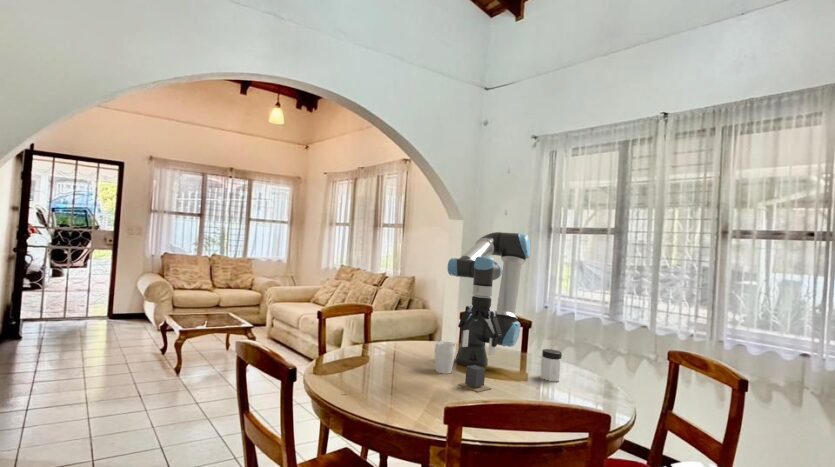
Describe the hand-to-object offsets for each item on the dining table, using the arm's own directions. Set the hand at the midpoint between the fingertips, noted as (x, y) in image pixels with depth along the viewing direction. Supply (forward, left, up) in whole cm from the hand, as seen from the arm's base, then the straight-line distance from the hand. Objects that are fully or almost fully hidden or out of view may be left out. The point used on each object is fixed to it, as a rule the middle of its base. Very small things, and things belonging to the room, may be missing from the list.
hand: (477, 350), depth 175 cm
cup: (-21, +4, -14) cm, 26 cm away
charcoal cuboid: (0, 0, -13) cm, 13 cm away
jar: (+8, +41, -14) cm, 44 cm away
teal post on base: (0, 0, -14) cm, 14 cm away
